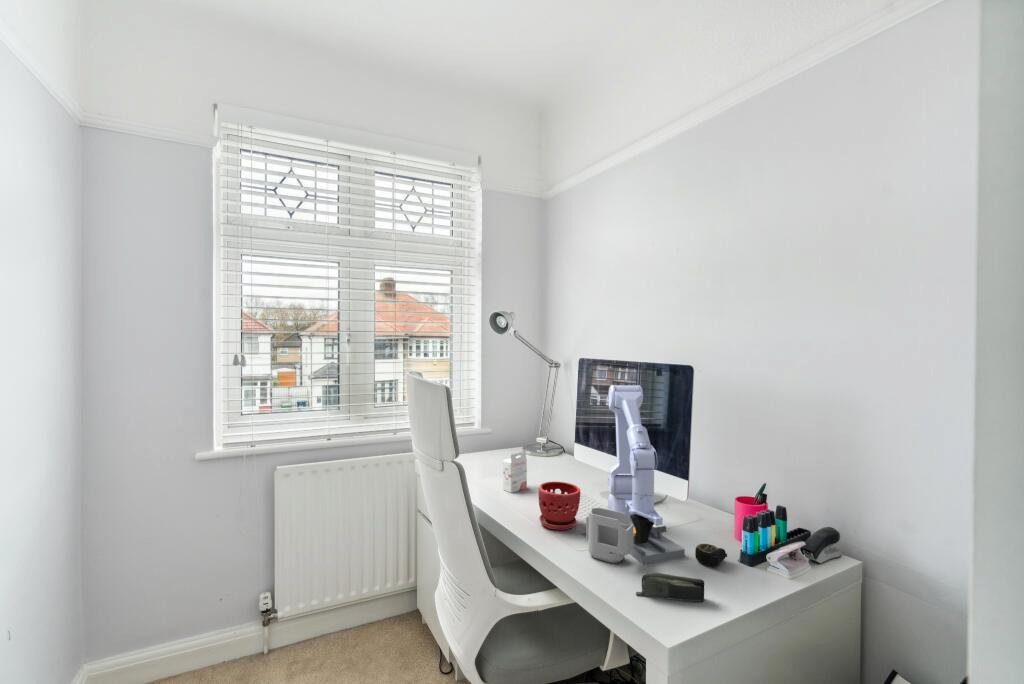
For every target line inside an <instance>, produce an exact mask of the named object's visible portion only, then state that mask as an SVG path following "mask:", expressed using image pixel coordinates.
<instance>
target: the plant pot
mask: <svg viewBox="0 0 1024 684" xmlns="http://www.w3.org/2000/svg"><path fill="white" fill-rule="evenodd" d="M556 490H560V493H556ZM551 491H552V492H551ZM580 502H581V488H580V487H579V486H577V485H576V484H573V483H569V482H566V481H565V482H564V481H545V482H543V483H541V484H539V486H538V505H539V510H540V515H539V518H538V519H539V522H540V523H541V524H542V525H543V526H544V527H545V528H548V529H551V530H555V531H556V530H559V531H563V530H564V531H565V530H568V529H572V528H573V527H574V526H575V525H576V523H577V518H576V516H577V514H578V511H579V508H580Z"/></svg>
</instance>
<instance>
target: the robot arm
mask: <svg viewBox="0 0 1024 684" xmlns="http://www.w3.org/2000/svg"><path fill="white" fill-rule="evenodd" d="M643 391H644V390H643V388H642V386H641V385H639V384H637V385H621V384H620V385H614V384H611V385H610V386H609V387H608V407H609V411H610V412H613V413H614V418H615V443H616V464H614V465H613V466H612V467H611V468H610V469H609V470H608V477H607V487H608V493H609V496H608V497H607V509H609V510H613V511H618V512H622V513H626V515H627V516H628V518H629V520H630V522H631V523H632V524H633V527H635V530H636V534H637V538H638V542H640V543H641V544H642V543H647V541H648V538H649V534H650V531H651V529H652V527H653V525H655V526H661V525H663V522H664V521H663V520H664V519H663V517H662V516H660V515H659V513H658V512H657V511H656V509H655V471H656V470H657V468H658V464H659V463H658V454H657V451H656V449H655V448H654V446H653V445H652V444H651V441H650V437H649V434H648V429H647V428H646V427H645V426H643V425H642V418H641V413H640V408H641V406H642V404H643V402H644V392H643ZM621 524H623V523H621ZM625 525H628V524H625Z"/></svg>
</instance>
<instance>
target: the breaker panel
mask: <svg viewBox="0 0 1024 684" xmlns="http://www.w3.org/2000/svg"><path fill="white" fill-rule="evenodd" d="M662 533H663V532H662ZM662 533H652V532H650V534H649V538H648V541H647V543H644V544H638V545H635V544H634V543H633V550H632V551H631V552H630V553H629V554H628V555H630V556H632V557H633V558H634V559H636V561H638V562H639V563H640V564H641V565H645V564H651V563H657V562H663V561H667V560H673V559H680V558H685V556H686V555H685V552H686V551H685V549H684V548H683V547H682V546H680V545H679V544H677V543H676V542H674V541H672V540H671V539H669V538H667V537H666V536H665V535H663V534H662Z"/></svg>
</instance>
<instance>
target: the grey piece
mask: <svg viewBox="0 0 1024 684" xmlns="http://www.w3.org/2000/svg"><path fill="white" fill-rule="evenodd" d="M585 520H586V521H585V522H586V524H585V527H586V528H585V529H586V530H585V531H586V532H585V538H586V541H587V542H588V544H587V545H588V548H587V549H588V550H587V551H588V553H589V554H590V556H591V557H593V558H595V559H597V560H601V561H604V562H606V563H611V564H617V563H620V562H621V561H622V560H624V559H625V557H626V556H628V555H630V554H629V553H630V552H631V551H632V550H633V524H632V523H631V522H630V520H629V518H628V516H627V515H626V513H622V512H618V511H613V510H609V509H608V508H603V507H591V511H590V510H588V514H587V516H586V518H585ZM621 523H623V524H621ZM625 524H628V525H625Z"/></svg>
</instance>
